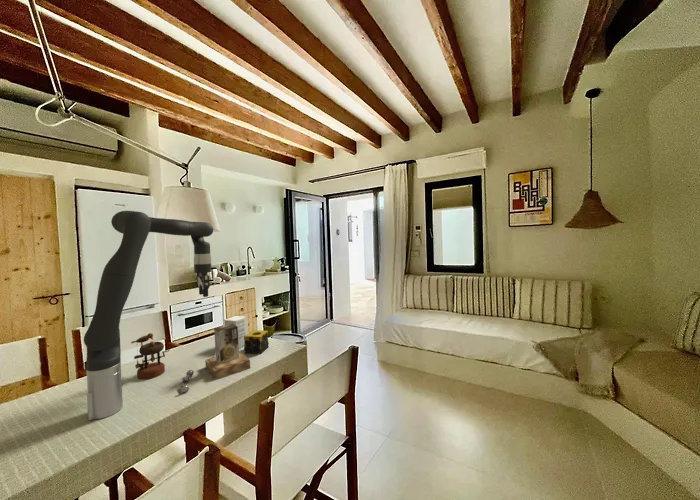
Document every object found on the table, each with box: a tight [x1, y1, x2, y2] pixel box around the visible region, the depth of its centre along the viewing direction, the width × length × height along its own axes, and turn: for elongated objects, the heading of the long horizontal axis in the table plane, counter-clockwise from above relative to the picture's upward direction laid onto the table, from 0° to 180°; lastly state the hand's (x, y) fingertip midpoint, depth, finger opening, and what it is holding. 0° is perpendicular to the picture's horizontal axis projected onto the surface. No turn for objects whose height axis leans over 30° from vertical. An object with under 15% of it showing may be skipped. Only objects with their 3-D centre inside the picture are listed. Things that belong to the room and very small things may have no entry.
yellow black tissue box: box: [243, 329, 270, 355], centre depth 152 cm, size 10×10×10 cm
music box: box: [130, 332, 170, 381], centre depth 127 cm, size 15×11×20 cm
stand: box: [205, 350, 251, 380], centre depth 131 cm, size 16×16×4 cm
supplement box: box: [223, 315, 249, 349], centre depth 159 cm, size 10×9×17 cm
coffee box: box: [213, 324, 240, 364], centre depth 131 cm, size 9×6×16 cm
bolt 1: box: [182, 369, 195, 383], centre depth 121 cm, size 6×3×3 cm, turn 11°
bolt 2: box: [179, 382, 190, 394], centre depth 111 cm, size 6×3×3 cm, turn 41°
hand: (203, 295), depth 133 cm, fingers open, 8 cm apart
